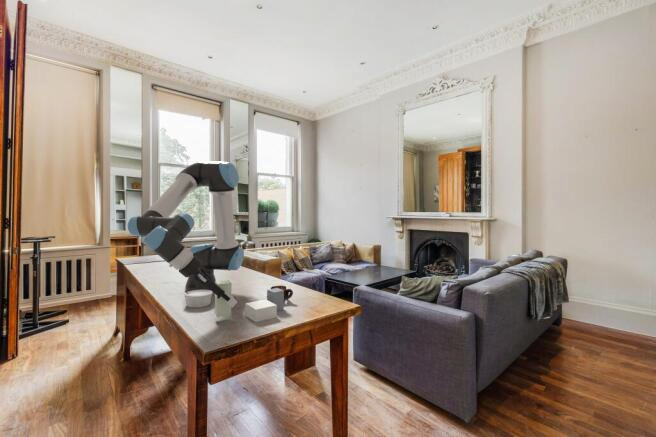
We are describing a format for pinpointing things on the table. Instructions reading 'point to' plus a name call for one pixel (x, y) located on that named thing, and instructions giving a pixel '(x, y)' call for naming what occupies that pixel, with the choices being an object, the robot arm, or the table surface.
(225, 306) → the sage block
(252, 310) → the base block
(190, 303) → the ramekin
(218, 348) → the table surface
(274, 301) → the slate block
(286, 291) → the pottery mug
